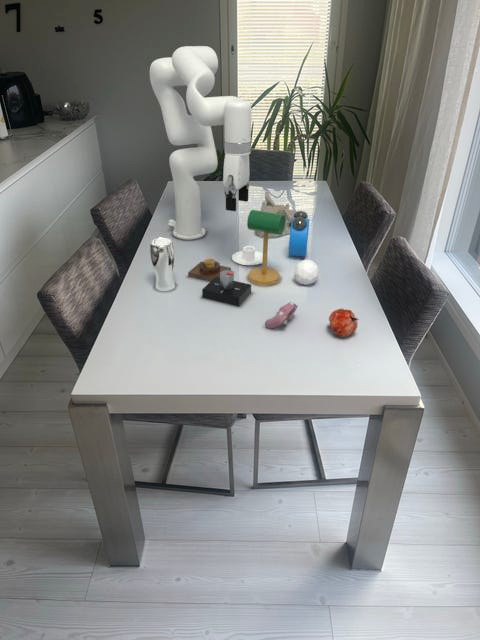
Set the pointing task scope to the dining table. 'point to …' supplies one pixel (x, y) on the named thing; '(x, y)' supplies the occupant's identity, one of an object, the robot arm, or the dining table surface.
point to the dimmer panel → (226, 292)
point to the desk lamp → (265, 244)
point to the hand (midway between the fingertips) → (237, 205)
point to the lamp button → (209, 263)
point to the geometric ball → (306, 272)
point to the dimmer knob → (226, 280)
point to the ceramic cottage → (278, 209)
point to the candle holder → (248, 256)
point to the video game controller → (281, 315)
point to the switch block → (207, 271)
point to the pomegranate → (343, 322)
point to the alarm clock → (299, 234)
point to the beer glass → (163, 262)
